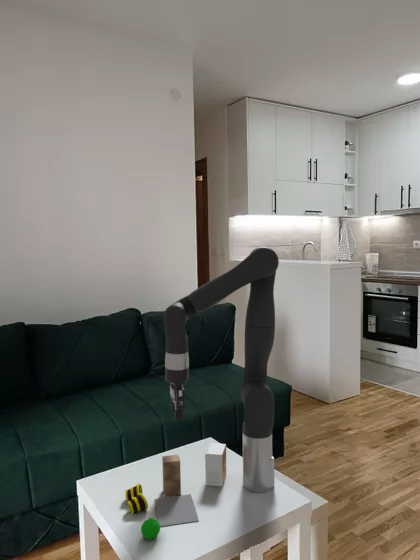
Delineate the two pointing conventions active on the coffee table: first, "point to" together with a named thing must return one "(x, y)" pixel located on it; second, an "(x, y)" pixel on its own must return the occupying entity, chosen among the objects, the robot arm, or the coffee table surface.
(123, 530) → the coffee table surface
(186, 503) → the mat
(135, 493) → the opera glasses
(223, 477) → the small box
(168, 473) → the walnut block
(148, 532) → the polyhedron
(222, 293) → the robot arm
